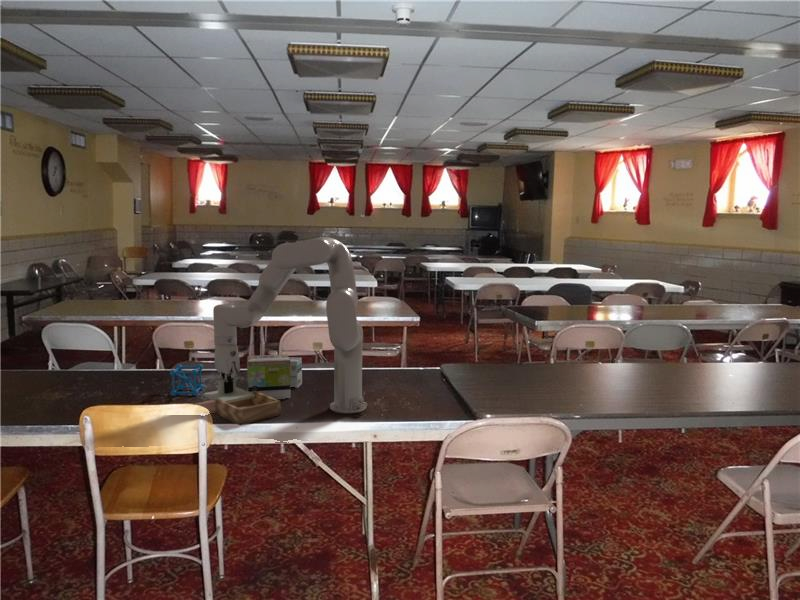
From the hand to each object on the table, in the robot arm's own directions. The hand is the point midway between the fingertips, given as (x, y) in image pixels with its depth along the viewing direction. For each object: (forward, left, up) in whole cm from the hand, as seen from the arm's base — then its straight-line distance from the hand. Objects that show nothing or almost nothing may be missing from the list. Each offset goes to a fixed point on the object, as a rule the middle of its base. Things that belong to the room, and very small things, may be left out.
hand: (227, 391), depth 215 cm
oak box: (-14, 0, -5) cm, 15 cm away
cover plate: (-1, 0, -1) cm, 2 cm away
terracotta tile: (+1, +3, -5) cm, 6 cm away
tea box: (-1, -16, -5) cm, 17 cm away
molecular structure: (+23, +4, -5) cm, 24 cm away
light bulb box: (+7, -29, -5) cm, 30 cm away
